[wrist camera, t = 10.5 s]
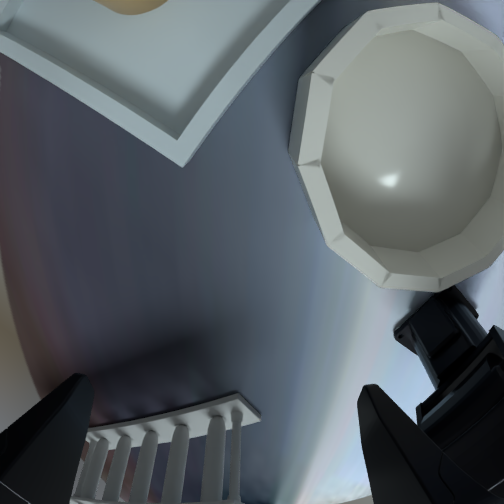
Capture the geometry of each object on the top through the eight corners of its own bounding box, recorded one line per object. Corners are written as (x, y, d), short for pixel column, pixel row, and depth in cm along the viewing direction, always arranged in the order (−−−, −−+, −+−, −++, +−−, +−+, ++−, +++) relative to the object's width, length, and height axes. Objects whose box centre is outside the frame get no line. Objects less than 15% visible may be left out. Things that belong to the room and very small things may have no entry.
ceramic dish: (528, 147, 16) (563, 161, 12) (408, 296, 22) (429, 329, 18) (395, -25, 12) (424, -45, 8) (234, 158, 17) (229, 174, 14)
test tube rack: (238, 391, 27) (233, 529, 15) (261, 414, 28) (264, 537, 17) (78, 429, 32) (50, 509, 20) (101, 445, 34) (79, 523, 22)
